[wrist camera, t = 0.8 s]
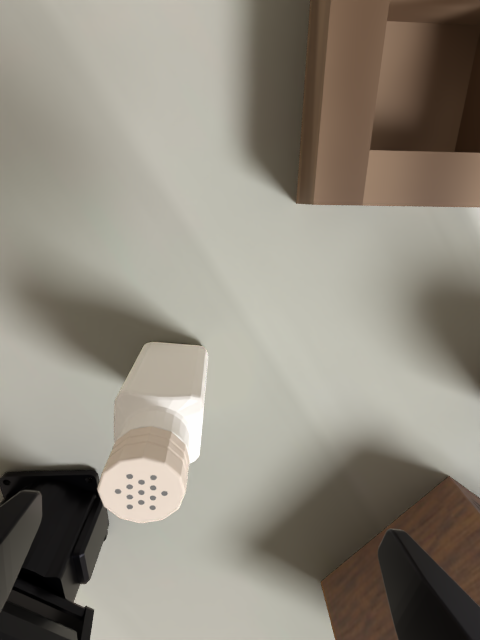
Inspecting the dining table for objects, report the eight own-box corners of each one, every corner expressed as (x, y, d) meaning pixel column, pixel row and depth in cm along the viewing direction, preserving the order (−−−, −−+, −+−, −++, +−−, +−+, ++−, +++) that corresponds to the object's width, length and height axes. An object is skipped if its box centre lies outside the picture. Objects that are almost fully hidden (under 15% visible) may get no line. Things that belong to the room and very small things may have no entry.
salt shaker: (142, 393, 22) (87, 530, 13) (143, 337, 20) (82, 445, 11) (204, 397, 22) (192, 533, 13) (209, 342, 21) (199, 451, 12)
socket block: (294, 203, 18) (313, 204, 15) (310, -32, 15) (340, -109, 11) (469, 206, 19) (530, 208, 15) (523, -21, 16) (618, -91, 12)
